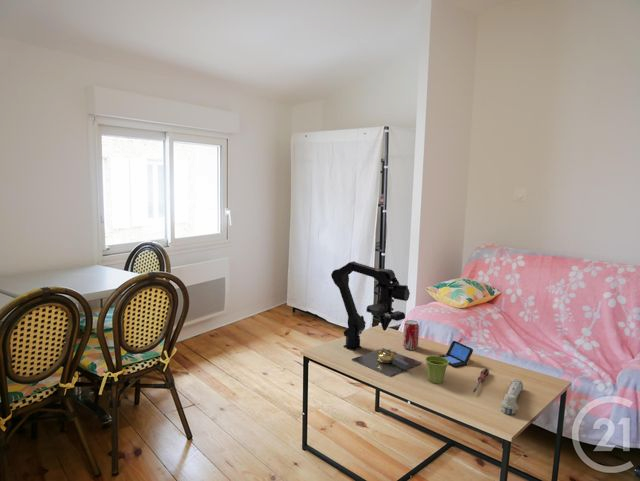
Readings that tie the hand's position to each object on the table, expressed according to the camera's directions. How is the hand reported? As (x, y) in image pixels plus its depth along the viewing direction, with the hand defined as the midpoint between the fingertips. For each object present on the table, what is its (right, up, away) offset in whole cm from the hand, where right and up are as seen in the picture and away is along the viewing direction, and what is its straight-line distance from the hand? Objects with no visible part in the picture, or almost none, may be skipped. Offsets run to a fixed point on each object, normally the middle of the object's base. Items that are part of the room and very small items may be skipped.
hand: (384, 330), depth 204 cm
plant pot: (+17, -16, -24) cm, 34 cm away
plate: (0, -13, -6) cm, 14 cm away
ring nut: (+3, -12, -10) cm, 16 cm away
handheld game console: (+31, -14, -3) cm, 34 cm away
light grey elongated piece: (+42, -19, -39) cm, 61 cm away
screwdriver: (+35, -17, -26) cm, 46 cm away
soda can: (+14, -11, +12) cm, 22 cm away
